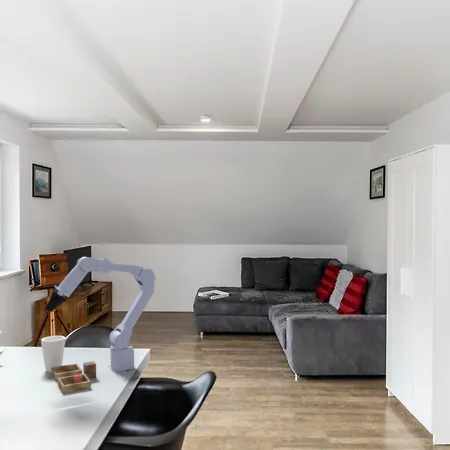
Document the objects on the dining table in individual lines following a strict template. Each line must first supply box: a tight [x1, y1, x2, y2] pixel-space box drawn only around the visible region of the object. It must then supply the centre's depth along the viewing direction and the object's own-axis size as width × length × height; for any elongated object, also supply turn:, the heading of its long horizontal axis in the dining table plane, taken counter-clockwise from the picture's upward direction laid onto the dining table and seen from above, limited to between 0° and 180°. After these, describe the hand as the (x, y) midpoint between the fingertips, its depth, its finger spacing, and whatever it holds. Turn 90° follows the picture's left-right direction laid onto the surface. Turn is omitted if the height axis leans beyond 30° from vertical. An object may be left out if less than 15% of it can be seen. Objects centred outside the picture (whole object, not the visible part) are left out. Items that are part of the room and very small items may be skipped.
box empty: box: [50, 363, 83, 382], centre depth 181 cm, size 10×10×3 cm
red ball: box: [74, 375, 83, 383], centre depth 170 cm, size 3×3×3 cm
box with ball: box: [57, 373, 92, 394], centre depth 168 cm, size 10×10×3 cm
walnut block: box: [82, 360, 97, 380], centre depth 178 cm, size 4×4×6 cm
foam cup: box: [40, 335, 66, 373], centre depth 190 cm, size 10×9×13 cm
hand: (47, 310), depth 176 cm, fingers open, 7 cm apart
